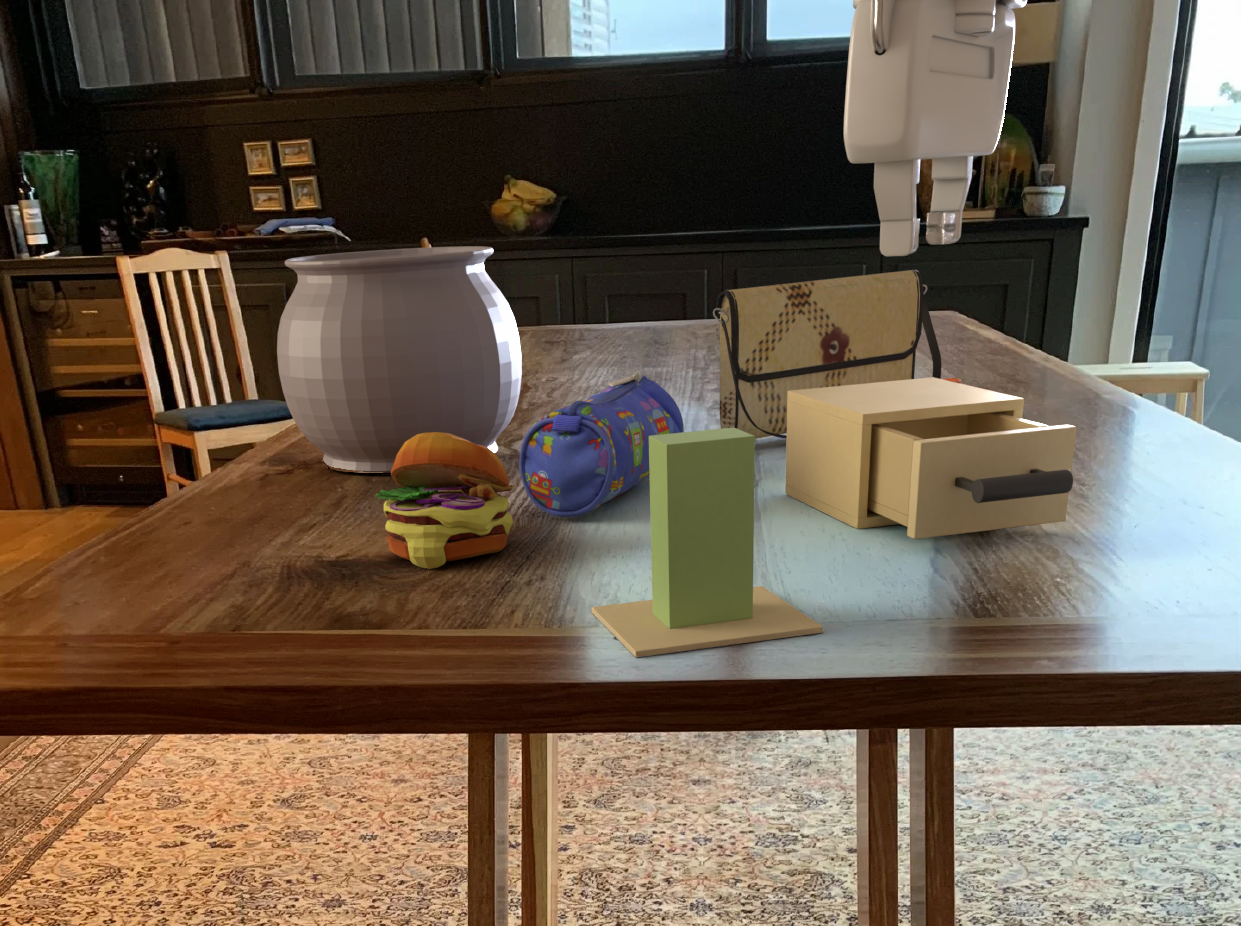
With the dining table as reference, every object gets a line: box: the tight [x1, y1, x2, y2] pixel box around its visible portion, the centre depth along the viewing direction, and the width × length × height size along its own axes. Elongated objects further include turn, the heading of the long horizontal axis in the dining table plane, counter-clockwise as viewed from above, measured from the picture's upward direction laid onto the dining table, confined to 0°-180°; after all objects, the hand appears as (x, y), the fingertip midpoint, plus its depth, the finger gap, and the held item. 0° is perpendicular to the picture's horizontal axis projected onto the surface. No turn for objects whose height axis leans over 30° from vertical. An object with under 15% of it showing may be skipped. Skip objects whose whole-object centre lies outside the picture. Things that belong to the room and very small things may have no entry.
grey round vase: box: [276, 245, 523, 473], centre depth 135 cm, size 25×25×20 cm
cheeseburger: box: [375, 432, 516, 570], centre depth 101 cm, size 10×11×10 cm
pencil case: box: [518, 370, 685, 518], centre depth 116 cm, size 22×9×10 cm, turn 159°
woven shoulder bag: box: [712, 268, 942, 440], centre depth 138 cm, size 30×7×15 cm, turn 123°
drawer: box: [867, 412, 1078, 540], centre depth 99 cm, size 18×12×7 cm
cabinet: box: [784, 376, 1025, 530], centre depth 108 cm, size 15×14×9 cm
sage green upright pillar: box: [649, 427, 756, 629], centre depth 81 cm, size 6×4×11 cm, turn 105°
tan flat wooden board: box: [591, 585, 824, 658], centre depth 83 cm, size 12×10×1 cm
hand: (921, 249), depth 77 cm, fingers open, 8 cm apart
